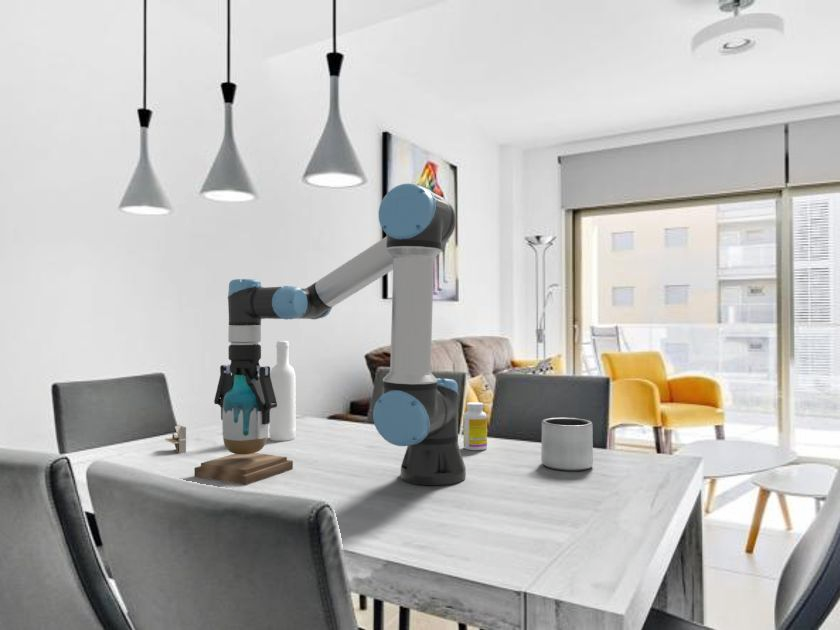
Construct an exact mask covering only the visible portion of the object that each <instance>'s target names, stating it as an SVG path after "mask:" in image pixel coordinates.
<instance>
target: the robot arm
mask: <svg viewBox="0 0 840 630" xmlns="http://www.w3.org/2000/svg"><path fill="white" fill-rule="evenodd" d="M378 221H379V224H380V227H381V229H382V230H383V232H384V233H385V234H386V236H385V237H383V238H382V239H380V240H379V241H377V242H376V243H374V244H373V245H371V246H369V247H368V248H366V249H365V250H363V251H362V252H360V253H359V254H357V255H356V256H354V257H352V258H351V259H349V260H347V261H346V262H345V263H343V264H341V265H339V266H338V267H337V268H336V269H334V270H332V271H331V272H329V273H327V274H326V275H324V276H323V277H321V278H320V279H318V280H317V281H316V282H314V283H312V284H311V285H309V286H307V287H306V288H301V287H300V286H291V285H289V286H288V285H284V286H275V287H274V286H272V287H271V286H269V287H267V286H266V287H263V286H262V283H261V281H260V280H259V279H256V278H255V279H252V278H236V279H231V280H230V281H229V283H228V294H227V295H228V296H227V300H228V301H227V302H228V303H227V305H228V336H227V337H228V339H227V342H228V343H230V344H229V346H228V360H229V361H230V364H222V365H220V367H219V368H220V369H219V371H220V372H219V373H220V375H219V380H218V382H217V383H218V384H217V388H216V390H215V391H216V392H215V395H214V401H213V402H214V405H217V406H219V407H220V419H221V421H222V414H223V401H224V396H225V394H226V393H227V392H228V391H230V390H231V389H232V388H233V383H234V375H244V376H246V382H247V384H248V386H250V387H251V390H252V392H253V393H254V394H255V396H256V401H257V403H258V405H259V407H260V409H259V411H257V433H258V439H262V438H266V437H267V438H268V437H269V425H270V409H272V408H275V407H277V402H276V398H275V394H274V390H273V386H272V382H271V378H270V373H271V367H270V366H268V365H265V366H261V365H260V360H261V358H262V345H261V344H259V343H261V340H262V333H261V332H262V328H261V327H262V326H261V325H262V320H265V319H269V320H271V319H273V320H295V319H296V320H297V319H298V320H300V319H303V320H305V319H306V320H308V319H309V320H319V319H323V318H326V317H327V316H328V315H329V314H330V313H331V310H332V308H333V307H335V306H336V305H338V304H340V303H341V302H342V301H345V300H347V299H348V298H349V297H351V296H353V295H355V294H357V293H358V292H359V291H361V290H363V289H364V288H366V287H368V286H369V285H371V284H372V283H374V282H376V281H377V280H378V279H381V278H382V277H384V276H385V275H387V274H389V273H390V272H391V271H392V294H391V295H392V296H391V298H392V299H391V329H390V330H391V331H390V332H391V333H390V334H391V335H390V366H389V368H390V369H389V372H388V373H387V374H386V375H385V376H384V377H383V378H382V392H381V393H382V394H381V395H380V396H379V398H378V399H377V400H376V402H375V404H374V406H373V411H372V417H373V418H372V419H373V423H374V427H375V429H376V430H377V432H378V435H380V436H381V437H382V438H383V439H384V440H385V441H386V442H387V443H389V444H391V445H394V446H397V447H406V449H405V452H404V456H403V458H402V462H401V465H400V478H401V479H402V480H403V481H404V482H406V483H410V484H415V485H422V486H446V485H453V484H457V483H460V482H463V481H464V480H465V479H466V473H467V470H466V464H465V462H464V459H463V456H462V453H461V452H462V451H461V449H460V445H459V396H460V394H459V389H458V387H459V385H458V382H457V381H456V380H455V379H452V378H451V379H450V378H437V377H436V376H435V375H434V374H433V373H432V371H431V370H432V369H431V368H432V367H431V365H432V338H433V335H432V333H433V331H432V330H433V299H434V297H433V296H434V268H435V267H434V265H435V264H434V263H435V258H436V257H438V255H440V254H441V252H442V245H444V244H445V243H446V242H448V240H449V239H450V237H452V235H453V233H454V231H455V228H456V223H457V217H456V212H455V210H454V207H453V206H452V204H451V203H450V201H448V200H447V199H446V198H445V197H443V196H441V195H439V194H436V193H435V192H433V191H431V190H430V189H429V188H427V187H426V186H423V185H420V184H414V183H409V182H407V183H402V184H399V185H396V186H394V187H393V188H391V189H390V190H389V191H388V192H387V194H385V196H384V197H382V200H381V201H380V205H379V208H378ZM255 378H257V380H255V381H252V379H255Z"/></svg>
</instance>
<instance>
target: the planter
mask: <svg viewBox="0 0 840 630" xmlns="http://www.w3.org/2000/svg"><path fill="white" fill-rule="evenodd" d="M593 434H594V433H593V421H590V420H588V419H583V418H577V417H549V418H544V419H542V420H541V453H540V454H541V457H540V458H541V459H540V460H541V464H542V465H543V466H545V467H546V468H548V469H552V470H557V471H561V472H562V471H563V472H579V471H580V472H582V471H585V470H588V469H590V468H592V467H593V464H594V447H593V446H594V444H593V443H594V441H593V440H594V439H593Z"/></svg>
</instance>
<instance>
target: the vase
mask: <svg viewBox="0 0 840 630" xmlns="http://www.w3.org/2000/svg"><path fill="white" fill-rule="evenodd" d="M255 380H257V378H255V379H252V381H255ZM259 409H260V407H259V405H258V403H257V401H256V396H255V394H254V393H253V392H252V390H251V387H250V386H248V384H247V382H246V376H244V375H234V383H233V388H232V389H231V390H230V391H228V392H227V393H226V394H225V396H224V401H223V414H222V420H221V421H222V423H221V424H222V438H223V445H224V447H225V448H226V450H227V451H228V452H230V453H232V454H252V453H259V451H261V450H263V448H264V447H265V445H266V444H267V440H268V437H266V438H262V439H258V433H257V411H259Z"/></svg>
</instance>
